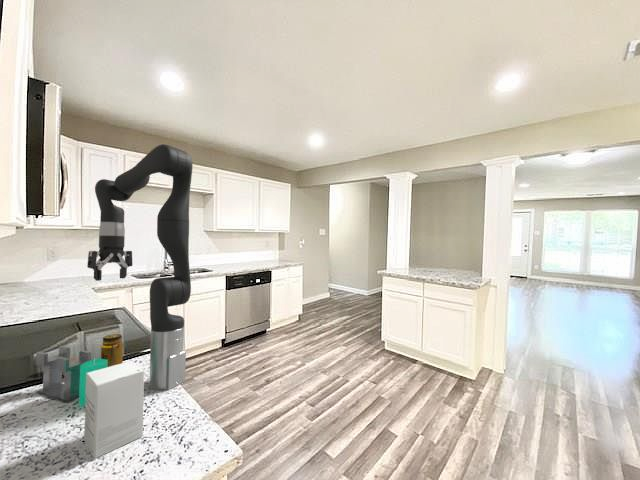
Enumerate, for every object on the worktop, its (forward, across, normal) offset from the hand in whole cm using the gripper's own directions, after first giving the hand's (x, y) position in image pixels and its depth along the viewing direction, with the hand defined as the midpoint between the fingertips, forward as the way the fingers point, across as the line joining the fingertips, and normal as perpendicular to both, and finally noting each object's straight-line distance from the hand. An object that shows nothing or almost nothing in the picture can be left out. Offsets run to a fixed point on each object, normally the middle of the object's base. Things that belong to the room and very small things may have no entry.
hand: (110, 279), depth 101 cm
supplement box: (+32, -26, -41) cm, 58 cm away
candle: (+31, -17, -20) cm, 41 cm away
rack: (+31, -18, -8) cm, 37 cm away
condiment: (+31, -2, -6) cm, 32 cm away
